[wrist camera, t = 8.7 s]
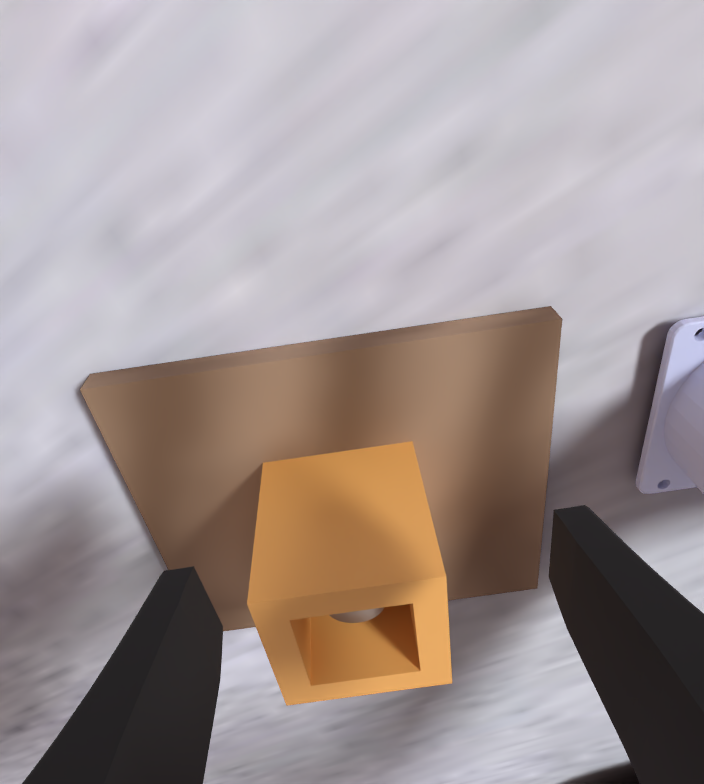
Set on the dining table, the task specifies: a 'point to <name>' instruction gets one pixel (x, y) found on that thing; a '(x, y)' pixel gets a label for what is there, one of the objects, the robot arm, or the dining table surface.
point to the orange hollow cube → (349, 575)
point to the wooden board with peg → (345, 441)
